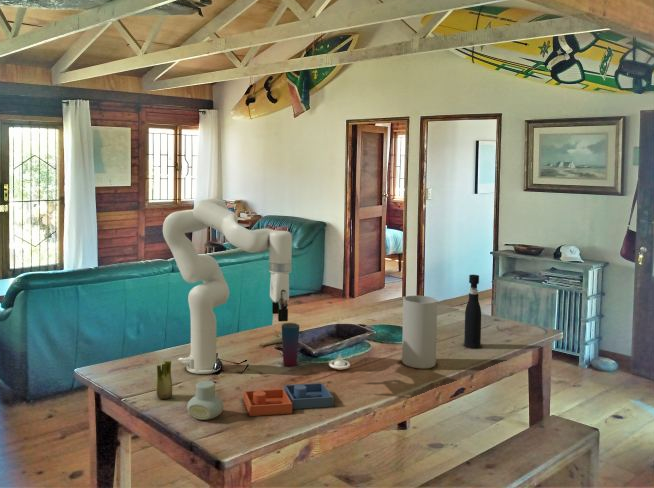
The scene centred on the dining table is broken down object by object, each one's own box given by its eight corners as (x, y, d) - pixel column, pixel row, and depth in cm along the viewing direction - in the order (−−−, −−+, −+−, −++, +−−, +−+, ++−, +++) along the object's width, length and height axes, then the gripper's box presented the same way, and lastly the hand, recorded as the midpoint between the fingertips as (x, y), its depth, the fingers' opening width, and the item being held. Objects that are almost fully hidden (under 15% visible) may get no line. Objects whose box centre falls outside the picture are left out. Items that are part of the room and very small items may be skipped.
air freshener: (182, 418, 181) (183, 385, 180) (195, 408, 189) (195, 376, 188) (215, 424, 177) (216, 391, 176) (227, 413, 185) (227, 381, 184)
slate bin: (292, 409, 188) (292, 399, 188) (284, 393, 200) (284, 385, 200) (333, 406, 191) (333, 397, 191) (322, 391, 203) (322, 382, 203)
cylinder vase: (395, 363, 231) (397, 299, 229) (411, 356, 240) (413, 293, 238) (426, 371, 222) (427, 305, 221) (441, 363, 231) (442, 299, 230)
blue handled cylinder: (295, 401, 193) (295, 389, 192) (292, 397, 197) (292, 385, 196) (323, 400, 194) (324, 387, 194) (320, 395, 198) (320, 383, 198)
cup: (297, 367, 225) (298, 328, 225) (279, 366, 227) (280, 327, 226) (300, 361, 232) (300, 323, 231) (282, 360, 233) (283, 322, 233)
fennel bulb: (157, 401, 193) (157, 365, 192) (153, 396, 198) (153, 360, 197) (174, 399, 195) (174, 362, 195) (170, 393, 200) (170, 358, 199)
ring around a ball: (348, 365, 228) (327, 364, 229) (349, 350, 228) (327, 350, 228) (351, 373, 220) (329, 372, 221) (351, 358, 220) (329, 357, 220)
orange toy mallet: (254, 408, 187) (254, 396, 187) (252, 403, 191) (252, 391, 191) (283, 406, 189) (283, 394, 189) (281, 401, 193) (281, 389, 193)
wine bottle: (463, 347, 251) (465, 276, 250) (464, 343, 257) (466, 273, 256) (480, 349, 249) (482, 277, 248) (480, 344, 255) (482, 274, 253)
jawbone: (293, 337, 265) (293, 332, 265) (279, 351, 246) (279, 346, 246) (273, 333, 268) (273, 328, 268) (258, 347, 249) (259, 342, 249)
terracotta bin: (249, 416, 183) (250, 406, 183) (243, 400, 195) (243, 391, 195) (292, 413, 185) (292, 403, 185) (283, 397, 197) (283, 388, 197)
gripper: (264, 263, 212) (264, 311, 213) (274, 272, 195) (274, 324, 196) (285, 262, 213) (285, 310, 214) (297, 272, 196) (296, 323, 197)
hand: (279, 317), depth 205 cm, fingers open, 9 cm apart
